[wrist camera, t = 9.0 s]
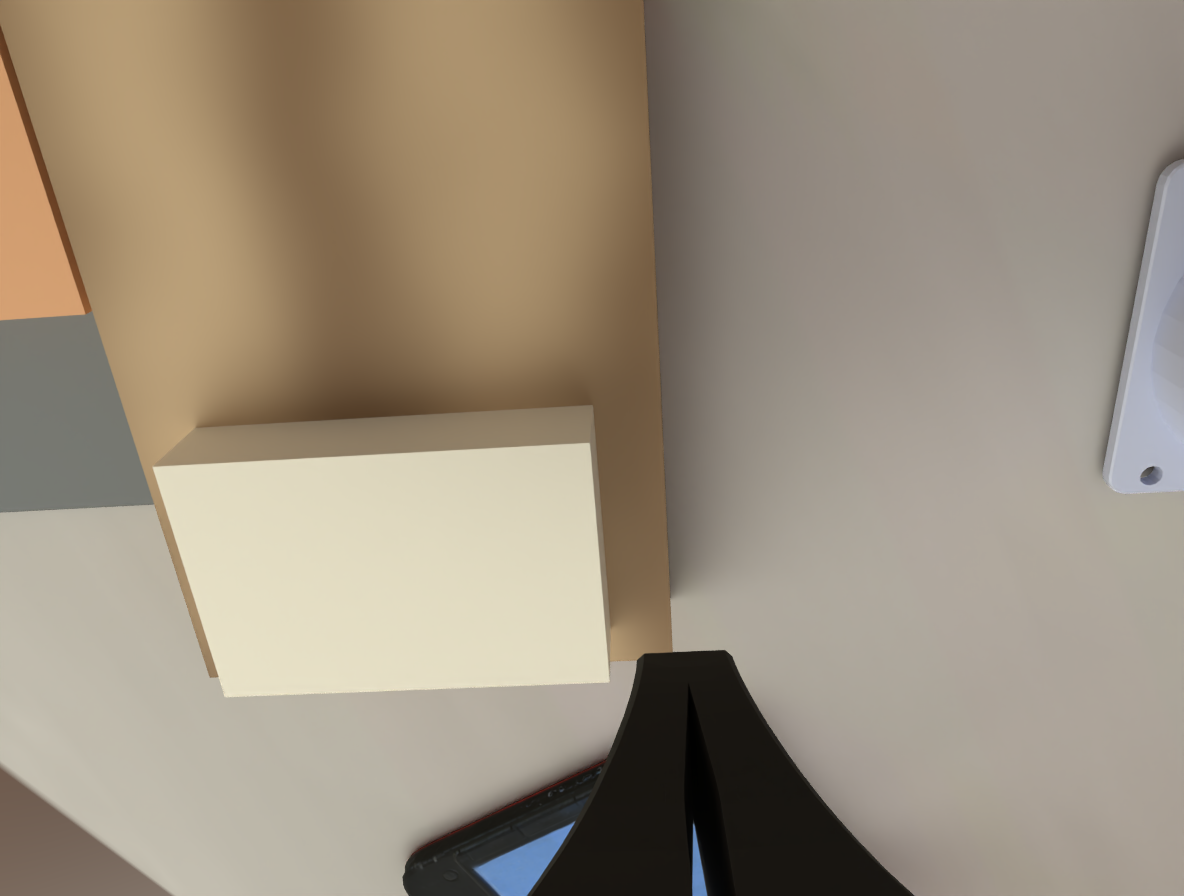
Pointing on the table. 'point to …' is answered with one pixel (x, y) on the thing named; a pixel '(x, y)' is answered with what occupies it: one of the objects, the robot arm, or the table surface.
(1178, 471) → the robot arm
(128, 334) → the deck
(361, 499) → the cream rectangular block
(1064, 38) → the table surface
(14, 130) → the orange rectangular block
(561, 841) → the handheld game console
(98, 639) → the table surface
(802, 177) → the table surface
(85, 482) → the mat
